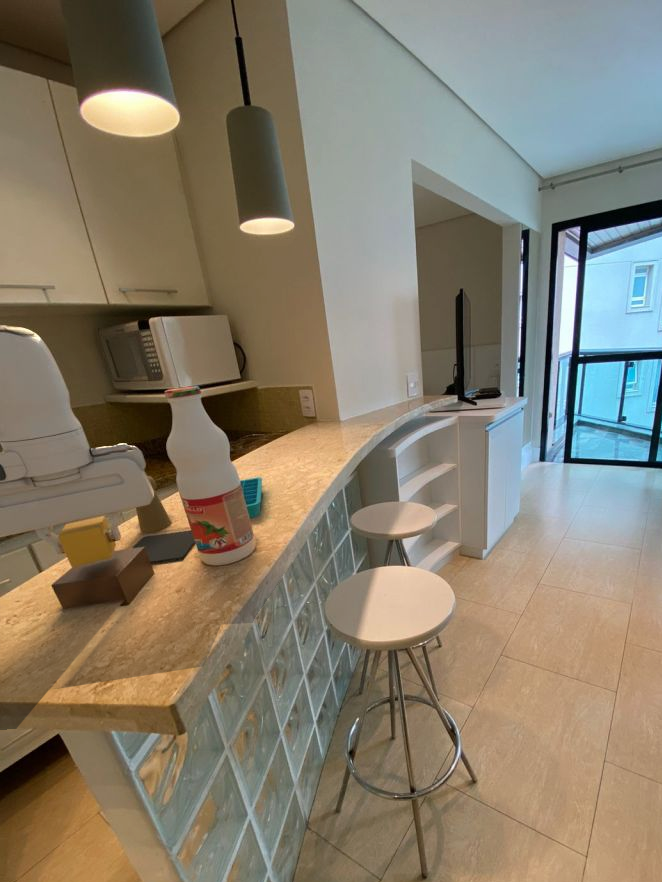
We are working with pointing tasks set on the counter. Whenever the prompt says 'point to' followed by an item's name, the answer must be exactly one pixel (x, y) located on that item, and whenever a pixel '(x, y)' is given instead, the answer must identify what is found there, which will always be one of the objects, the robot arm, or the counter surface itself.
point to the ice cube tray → (252, 495)
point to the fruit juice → (207, 481)
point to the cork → (152, 514)
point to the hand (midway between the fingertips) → (90, 546)
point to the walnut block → (105, 580)
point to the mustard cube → (86, 541)
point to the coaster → (167, 546)
